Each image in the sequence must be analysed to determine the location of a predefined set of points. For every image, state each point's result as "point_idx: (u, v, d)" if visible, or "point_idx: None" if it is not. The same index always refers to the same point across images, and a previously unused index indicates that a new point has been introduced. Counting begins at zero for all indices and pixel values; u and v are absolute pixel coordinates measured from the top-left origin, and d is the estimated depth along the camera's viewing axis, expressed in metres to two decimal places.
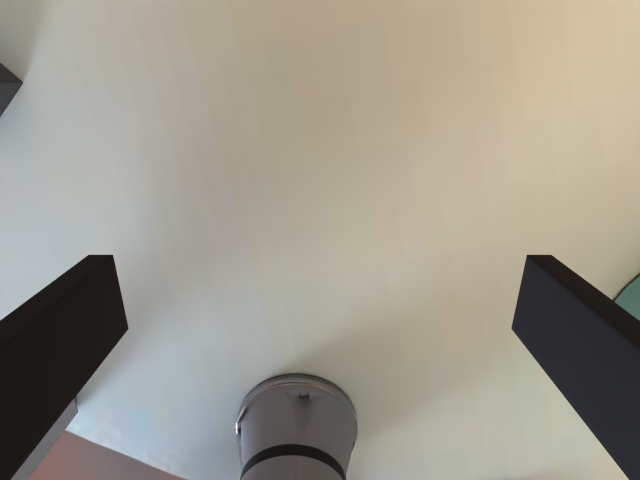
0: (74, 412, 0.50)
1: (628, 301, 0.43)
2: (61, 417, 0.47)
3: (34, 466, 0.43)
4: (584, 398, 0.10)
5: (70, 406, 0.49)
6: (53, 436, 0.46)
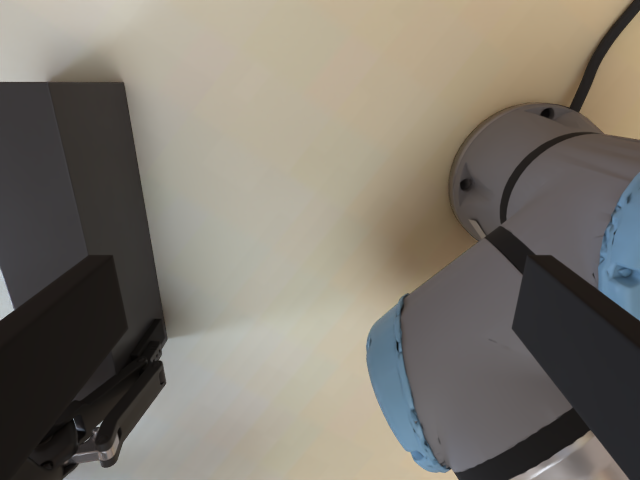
0: None
1: None
2: None
3: None
4: (584, 398, 0.10)
5: None
6: None
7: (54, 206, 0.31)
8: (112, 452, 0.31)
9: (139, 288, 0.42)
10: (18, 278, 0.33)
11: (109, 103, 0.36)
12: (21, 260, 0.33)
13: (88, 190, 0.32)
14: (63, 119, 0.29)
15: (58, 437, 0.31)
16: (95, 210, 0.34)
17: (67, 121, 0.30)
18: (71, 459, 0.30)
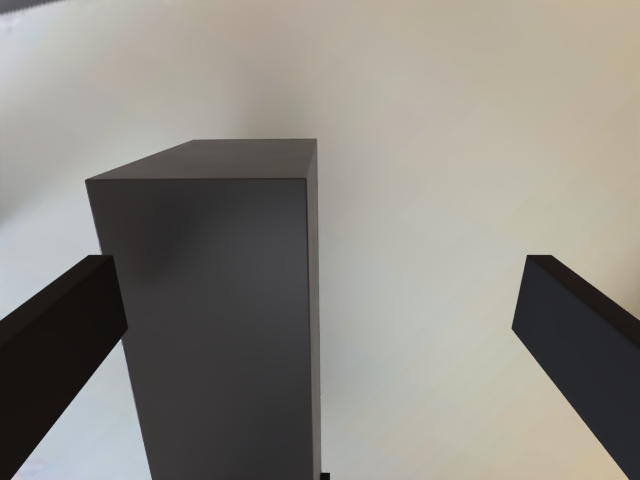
0: None
1: None
2: None
3: None
4: (584, 398, 0.10)
5: None
6: None
7: (270, 391, 0.17)
8: None
9: None
10: None
11: (315, 179, 0.21)
12: (192, 470, 0.18)
13: (313, 347, 0.18)
14: (309, 240, 0.15)
15: None
16: (314, 375, 0.19)
17: (310, 241, 0.15)
18: None
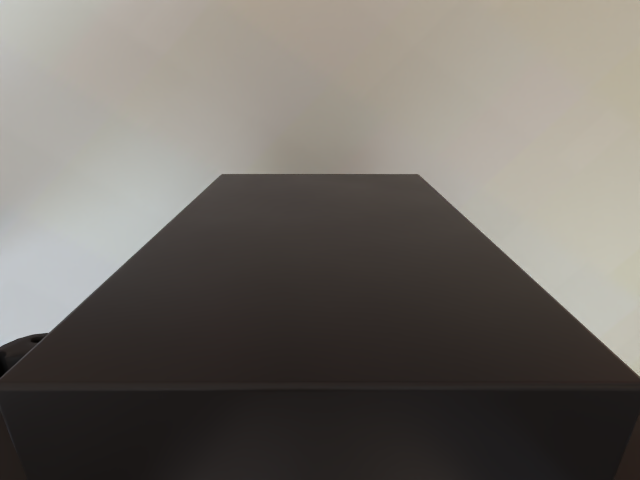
0: None
1: None
2: None
3: None
4: None
5: None
6: None
7: None
8: None
9: None
10: None
11: None
12: None
13: None
14: None
15: None
16: None
17: None
18: None
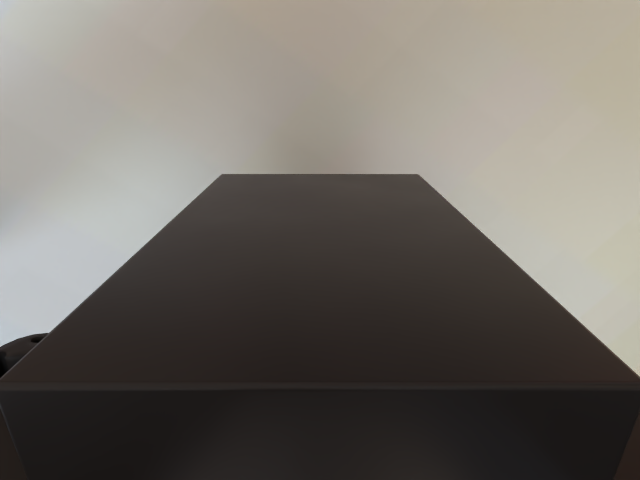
0: None
1: None
2: None
3: None
4: None
5: None
6: None
7: None
8: None
9: None
10: None
11: None
12: None
13: None
14: None
15: None
16: None
17: None
18: None
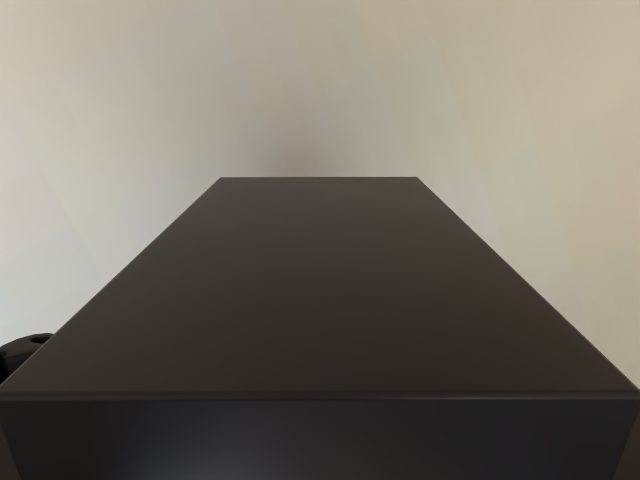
0: None
1: None
2: None
3: None
4: None
5: None
6: None
7: None
8: None
9: None
10: None
11: None
12: None
13: None
14: None
15: None
16: None
17: None
18: None
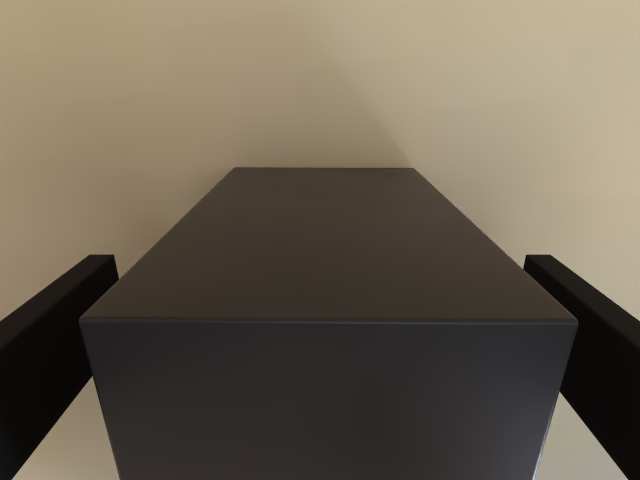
0: None
1: None
2: None
3: None
4: (583, 397, 0.10)
5: None
6: None
7: None
8: None
9: None
10: None
11: None
12: None
13: None
14: None
15: None
16: None
17: None
18: None
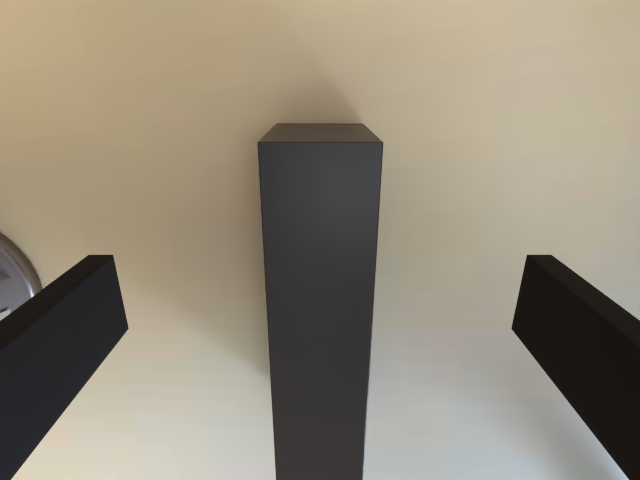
0: None
1: None
2: None
3: None
4: (584, 397, 0.10)
5: None
6: None
7: (350, 275, 0.27)
8: None
9: None
10: (285, 350, 0.30)
11: None
12: (295, 331, 0.29)
13: None
14: None
15: None
16: None
17: None
18: None
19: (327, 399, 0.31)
